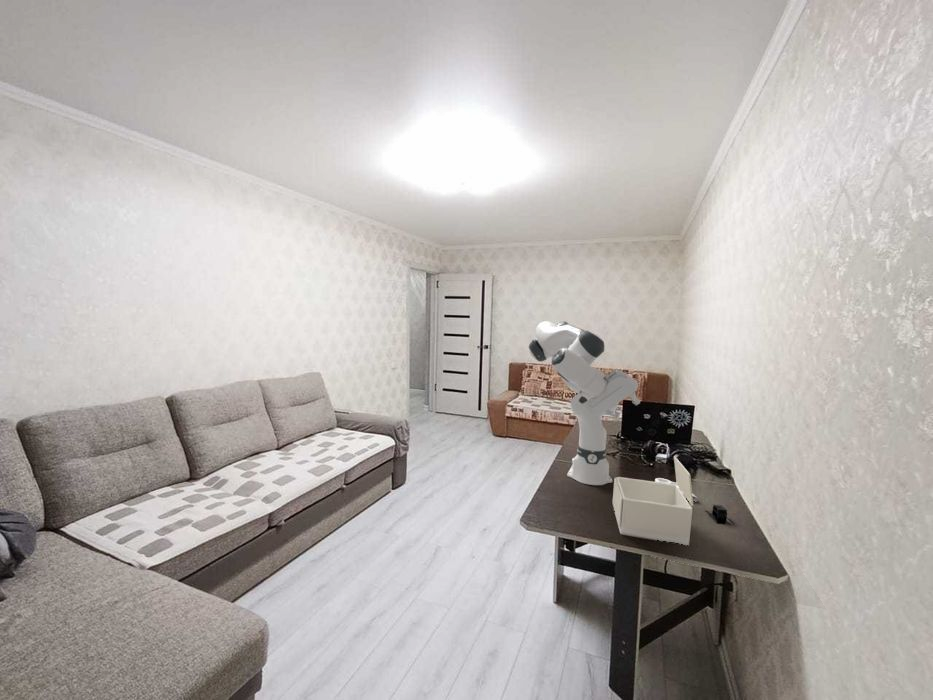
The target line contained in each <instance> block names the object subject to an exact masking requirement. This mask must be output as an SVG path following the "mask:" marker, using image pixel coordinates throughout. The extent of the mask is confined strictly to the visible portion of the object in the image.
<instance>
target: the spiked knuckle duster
mask: <svg viewBox="0 0 933 700" xmlns="http://www.w3.org/2000/svg"><path fill="white" fill-rule="evenodd" d="M654 482H660V483H667V484H674V485H676V486H677V487H678V485H677V483H676V481H675V482H674V481H671V480H669V479H666V478H661V477H656V478H655V479H654ZM678 488H679V487H678ZM679 490H680V488H679ZM680 491H681V490H680ZM681 493H682V491H681ZM682 494H683V493H682ZM683 496H684V497H685V495H684V494H683ZM692 496H693V499H694V501H695V502H694V503H696V502H698V501H699V500H698V497H697V496H696V495H695V494H694V493H693V492H692ZM685 499H686V497H685Z"/></svg>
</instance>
